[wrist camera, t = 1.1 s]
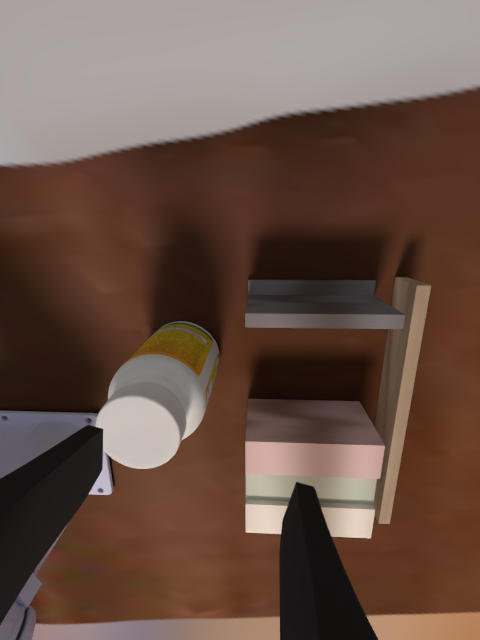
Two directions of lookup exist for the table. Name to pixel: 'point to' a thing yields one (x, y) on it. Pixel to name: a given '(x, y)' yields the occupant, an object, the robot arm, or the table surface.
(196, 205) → the table surface
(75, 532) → the table surface
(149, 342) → the supplement bottle
